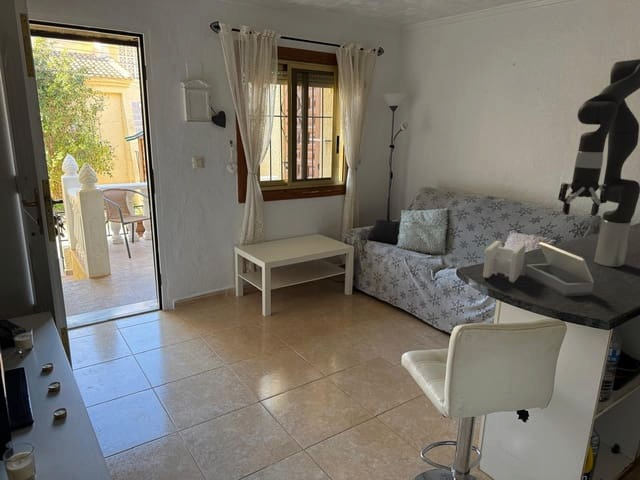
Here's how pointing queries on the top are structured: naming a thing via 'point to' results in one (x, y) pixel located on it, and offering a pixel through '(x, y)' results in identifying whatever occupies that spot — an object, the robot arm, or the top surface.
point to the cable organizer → (504, 261)
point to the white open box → (558, 280)
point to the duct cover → (566, 261)
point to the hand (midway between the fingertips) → (579, 214)
